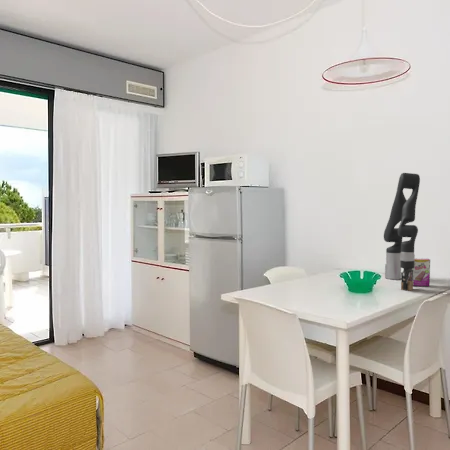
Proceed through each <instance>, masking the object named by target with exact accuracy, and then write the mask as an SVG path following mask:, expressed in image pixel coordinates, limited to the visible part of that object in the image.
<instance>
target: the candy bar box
mask: <svg viewBox="0 0 450 450" xmlns="http://www.w3.org/2000/svg"><path fill="white" fill-rule="evenodd" d="M411 270H413V280H412V281H413V287H430V284H431V283H430V279H431V259H430V258H428V257H427V258H423V257H422V258H420V257H419V258H418V257H417V258H416V257H415V267H414V268H413V269H411Z"/></svg>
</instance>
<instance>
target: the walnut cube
mask: <svg viewBox="0 0 450 450" xmlns="http://www.w3.org/2000/svg"><path fill="white" fill-rule="evenodd" d="M400 282H401V283H400V284H401V285H400V286H401V287H400V288H401V289H400V290H401V291H405V290H404V289H403V282H402V280H401V281H400ZM407 290H408V292H410V291H412V290H414V286H413V281H409V280H408V289H407ZM407 290H406V291H407Z"/></svg>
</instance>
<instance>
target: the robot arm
mask: <svg viewBox="0 0 450 450" xmlns="http://www.w3.org/2000/svg"><path fill="white" fill-rule="evenodd" d="M420 182H421V179H420V174H418V173H411V172H410V173H409V172H402V173H401V174H400V175H399V177H398V182H397V187H396V193H395V197H394V200H393V203H392V205H391V206H392V207H391V210H390V215H389V218H388V220H387V223H386V225H385V228H384V232H383V240H384V241H385V242H386V243H394V244H392V246H389V247H386V249H385V254H386V258H385V262H386V263H385V264H384V265H385V266H384V279H388V280H401V281H402V282H403V289H404V290H403V291H407V289H408V280H409V281H412V280H413V270H411V269H413V268H414V267H415V258H416V255H415V245H416V244H415V243H416V239H417V236H418V233H419V229H418V226H417V225H414V224H410V223H413V222H415V220H416V206H417V200H418V196H419V190H420ZM405 189H406V190H407V189H408V190H412V191H411V194H410V196H409V198H408V199H407V198H406V196H405V194H404V190H405ZM399 223H400V224H399ZM398 224H399V226H398V227H396V226H397V225H398ZM403 238H410V239H409V240H403ZM402 269H403V270H402Z"/></svg>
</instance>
